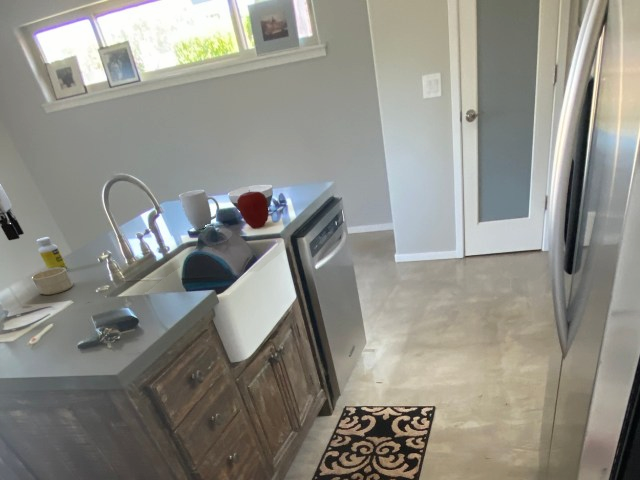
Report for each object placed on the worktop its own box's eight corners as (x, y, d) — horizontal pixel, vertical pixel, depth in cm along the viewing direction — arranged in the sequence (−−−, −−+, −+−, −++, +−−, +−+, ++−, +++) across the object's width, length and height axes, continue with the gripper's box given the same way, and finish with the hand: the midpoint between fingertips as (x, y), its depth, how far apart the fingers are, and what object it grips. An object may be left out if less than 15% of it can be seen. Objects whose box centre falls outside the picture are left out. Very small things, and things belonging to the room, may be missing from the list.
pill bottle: (60, 274, 194) (43, 240, 186) (47, 275, 195) (29, 242, 188) (72, 268, 198) (55, 235, 191) (58, 269, 200) (41, 236, 192)
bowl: (265, 219, 220) (258, 194, 214) (226, 221, 226) (219, 197, 220) (285, 207, 233) (279, 183, 227) (248, 210, 239) (241, 186, 233)
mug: (220, 220, 230) (210, 186, 222) (226, 224, 223) (216, 189, 214) (187, 228, 226) (176, 194, 217) (193, 232, 218) (181, 197, 210)
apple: (277, 221, 214) (268, 184, 205) (265, 230, 206) (256, 191, 197) (251, 223, 218) (241, 187, 209) (239, 231, 209) (228, 194, 201)
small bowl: (37, 298, 174) (27, 281, 170) (43, 288, 182) (34, 272, 179) (71, 290, 176) (62, 274, 172) (76, 281, 184) (67, 265, 180)
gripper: (-28, 165, 151) (10, 233, 163) (-46, 173, 139) (-4, 246, 151) (-1, 160, 152) (34, 228, 164) (-16, 168, 140) (23, 240, 152)
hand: (16, 236), depth 157 cm, fingers open, 5 cm apart
